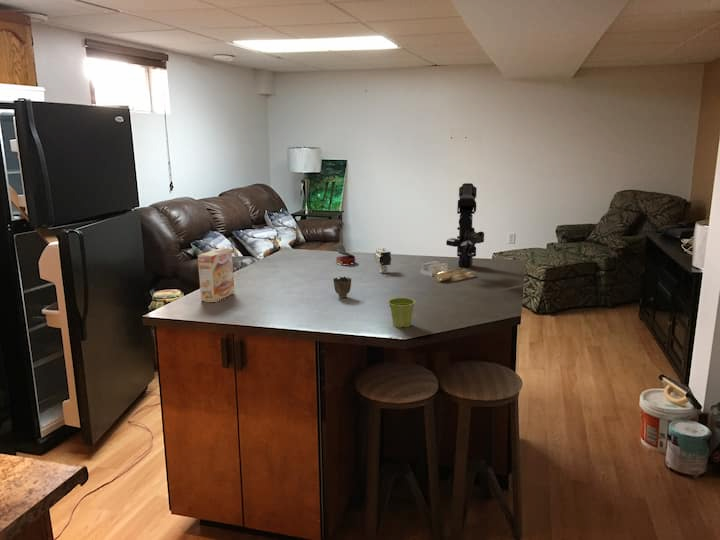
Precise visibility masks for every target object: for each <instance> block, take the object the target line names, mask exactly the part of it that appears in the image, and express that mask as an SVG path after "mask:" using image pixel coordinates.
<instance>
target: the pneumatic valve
mask: <svg viewBox="0 0 720 540" xmlns="http://www.w3.org/2000/svg"><path fill="white" fill-rule="evenodd" d="M391 253H392V252H391V251H389V250H388V249H387V248H378V249H377V248H376V249H375V252H374V260H375V262H376V263H377V264H379V266H378V267H379V270H378V272H379V273H380V274H381V275H382V274H388V268H389V267H388V266H391V265H392V255H391Z"/></svg>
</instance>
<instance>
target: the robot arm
mask: <svg viewBox="0 0 720 540" xmlns="http://www.w3.org/2000/svg"><path fill="white" fill-rule="evenodd" d="M477 192H478V191H477V187H476V186H475V185H474V184H473V183H470V182H469V183H468V182H466V183H465V182H464V183H462V185H461V186H459V188H458V198H459V199H457V208H456V209H457V210H456V211H457V212H456V213H457V214H458V215H459V219H458V227H457V229H456V230H458V233H459V235H458V236H457V237H456V238H455V237H451V238H447V240H446V243H445V244H446V246H449V247H450V246H451V247H455V248H456V249H457V250H456V252H457V253H456V255H457V256H456V257H458V266H457V267H458V268H465V269H466V268H472V266H473V261H474V260H473V259H474V258H475V257H476V256H477V247H476V244H482V243H484V242H485V232H483V231H477V232H476V231H475V227H473V215H475V213H476V212H477V202H476V198H477V194H478V193H477ZM473 257H474V258H473Z"/></svg>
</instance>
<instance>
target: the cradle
mask: <svg viewBox="0 0 720 540" xmlns="http://www.w3.org/2000/svg"><path fill="white" fill-rule="evenodd" d="M448 267H449V266H448V263H447V262H442V263H441V262H440V261H439V260H438V261H437V260H433V261H427V262H424V263H420V268H419V269H420V271H419V273H420V274H421V275H425V276H429V277H435V274H436V273H440V272H445V271H449V269H448Z"/></svg>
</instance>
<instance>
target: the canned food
mask: <svg viewBox="0 0 720 540" xmlns="http://www.w3.org/2000/svg"><path fill="white" fill-rule="evenodd" d="M336 252H337V253H338V254H340V255H341V256H337V257H336V264H337V263H340V264H351V263H355V264H356V256H355V255H353V254H351V253H349V252H347V251H345V250H343V249H340V248H337V249H336Z"/></svg>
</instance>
